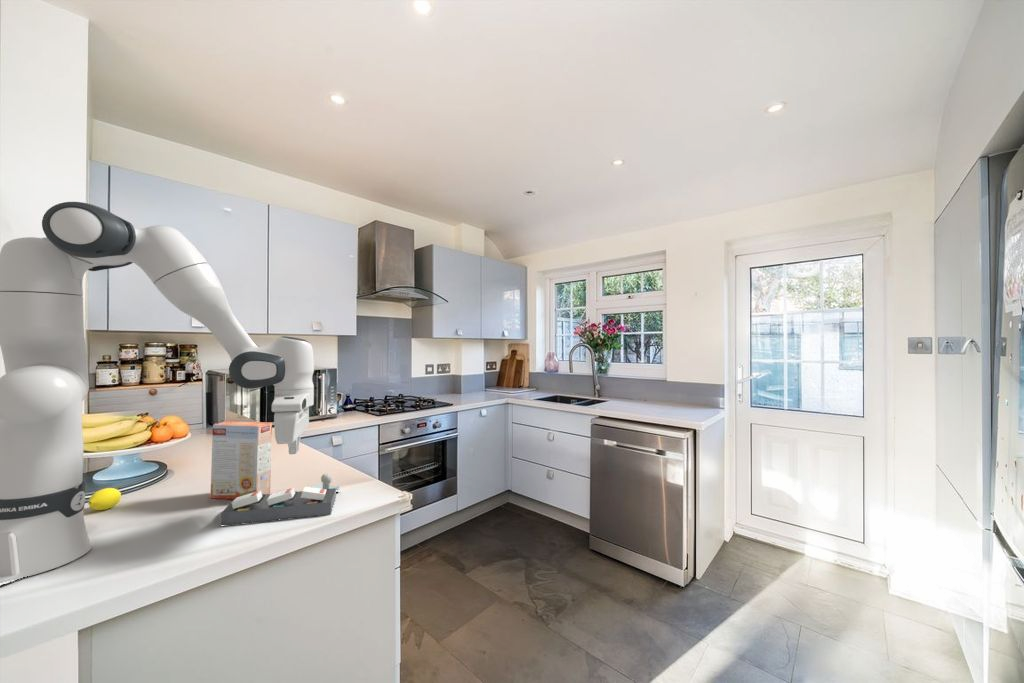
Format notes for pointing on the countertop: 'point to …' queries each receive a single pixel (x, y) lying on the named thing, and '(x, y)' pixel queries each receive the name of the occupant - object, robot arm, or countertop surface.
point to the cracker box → (240, 459)
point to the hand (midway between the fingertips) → (293, 452)
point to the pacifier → (326, 483)
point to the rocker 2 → (281, 496)
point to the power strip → (278, 509)
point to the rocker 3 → (313, 493)
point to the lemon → (104, 499)
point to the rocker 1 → (247, 499)
